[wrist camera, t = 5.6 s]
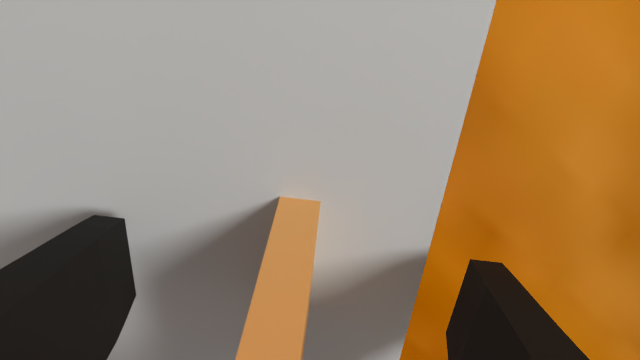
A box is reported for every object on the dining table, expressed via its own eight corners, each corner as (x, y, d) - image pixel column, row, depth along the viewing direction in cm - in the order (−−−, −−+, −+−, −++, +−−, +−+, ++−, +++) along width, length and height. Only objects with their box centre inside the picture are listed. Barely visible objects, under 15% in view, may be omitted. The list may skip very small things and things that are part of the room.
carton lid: (369, 450, 14) (373, 655, 10) (-95, 392, 14) (-263, 571, 10) (531, -171, 6) (799, -293, 2) (-488, -276, 7) (-1687, -533, 3)
